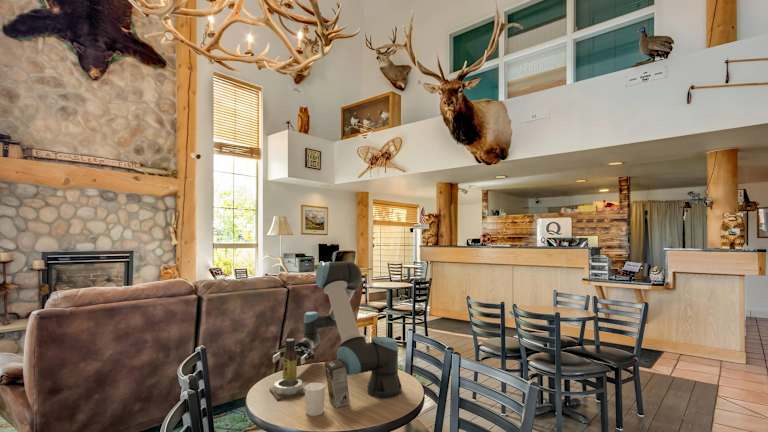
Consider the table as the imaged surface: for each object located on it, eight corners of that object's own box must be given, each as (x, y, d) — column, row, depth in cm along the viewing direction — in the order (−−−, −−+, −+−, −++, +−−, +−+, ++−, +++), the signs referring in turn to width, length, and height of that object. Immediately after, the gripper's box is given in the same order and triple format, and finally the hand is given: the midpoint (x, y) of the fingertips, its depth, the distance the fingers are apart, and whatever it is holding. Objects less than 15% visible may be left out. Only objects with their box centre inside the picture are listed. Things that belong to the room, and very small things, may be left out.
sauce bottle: (281, 380, 193) (282, 338, 193) (295, 379, 195) (295, 336, 196) (283, 385, 187) (284, 341, 187) (297, 383, 189) (298, 340, 190)
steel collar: (305, 391, 177) (305, 384, 177) (279, 397, 172) (279, 390, 172) (296, 383, 187) (296, 376, 187) (271, 388, 181) (271, 381, 182)
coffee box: (328, 399, 172) (323, 362, 171) (343, 395, 174) (338, 357, 174) (335, 408, 163) (330, 368, 163) (350, 403, 166) (345, 364, 166)
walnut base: (307, 394, 177) (307, 392, 177) (277, 400, 170) (277, 398, 171) (297, 384, 188) (297, 382, 188) (269, 390, 182) (269, 387, 182)
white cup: (320, 417, 156) (320, 391, 156) (301, 415, 157) (301, 389, 157) (327, 408, 163) (327, 383, 164) (308, 407, 165) (309, 381, 165)
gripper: (327, 356, 207) (313, 370, 186) (281, 353, 212) (261, 366, 191) (327, 341, 208) (313, 353, 187) (281, 338, 212) (262, 350, 191)
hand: (287, 360), depth 189 cm, fingers open, 13 cm apart
